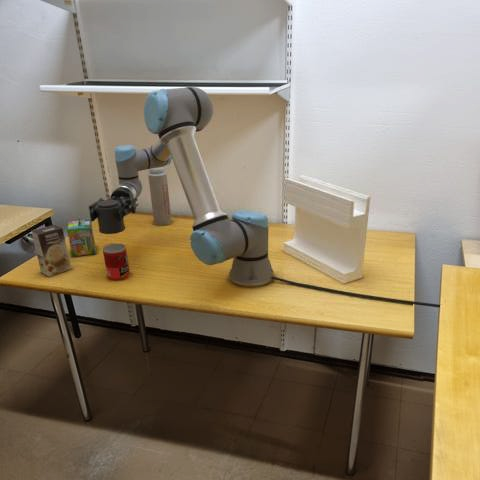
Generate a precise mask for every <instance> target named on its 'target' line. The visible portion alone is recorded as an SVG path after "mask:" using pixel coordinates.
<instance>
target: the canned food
mask: <svg viewBox="0 0 480 480" xmlns="http://www.w3.org/2000/svg"><path fill="white" fill-rule="evenodd" d="M102 255H103V259H104V265H105V270H106V275H107V278H108V279H109V280H112V281H124V280H126V279H128V278H129V277H130V273H131V272H130V266H129V258H128V252H127V247H126V245H125V244H123V243H118V242H117V243H116V242H115V243H110V244H109V243H108V244H106V245H104V246H103V247H102Z"/></svg>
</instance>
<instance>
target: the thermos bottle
mask: <svg viewBox="0 0 480 480" xmlns="http://www.w3.org/2000/svg"><path fill="white" fill-rule="evenodd" d="M147 176H148V186H149V193H150V194H149V195H150V200H151V201H150V202H151V211H152V219H153V225H155V226H161V227H162V226H168V225H171V224H172V214H171V205H170V203H171V202H170V194H169V185H168V184H169V183H168V174H167V172H166V171H165V166H164V167H157V168H152V169H148V173H147Z"/></svg>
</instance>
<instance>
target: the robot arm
mask: <svg viewBox="0 0 480 480" xmlns="http://www.w3.org/2000/svg"><path fill="white" fill-rule="evenodd" d="M213 115H214V104H213V101H212V99H211V97H210V95H209V94H208V93H207V92H206V91H205V90H203V89H201V88H199V87H196V86H186V87H176V88H175V87H174V88H167V89H166V88H160V89H159V90H153V91H151V92H149V93H148V95H147V96H146V97H145V100H144V105H143V117H144V123H145V127H146V128H147V130H148V131H149V132H150V133H151V134H153V135H157V136H158V138H157V139H156V140H155V142H154V143H153V144H152V145H151V146H150V147H145V148H141V149H136V148H135V146H134V145H128V144H127V145H119V146H116V147H115V148H114V160H115V161H114V162H115V165H116V171H117V177H118V186H117V187H116V188H115V189H114V191H112V193H111V195H110V197H109V198H107V199H106V200H117V201H118V202H120V203H121V206H122V208H121V209H120V210H119V211H118V213H117V215H118V221H121V220H122V219H124V218H125V217H126V216H128V215H130V214H136V213H137V207H138V206H139V200H138V198H139V196H140V195H141V193H142V191H143V183H142V181H141V179H140V177H139V172H140V171H141V172H142V171H147V170H149V169H152V168H157V167H164V168H165V166H169V165H170V164H171V163H172V162H173V165H174V168H175V170H176V174H177V176H178V178H179V181H180V184H181V187H182V190H183V192H184V196H185V198H186V201H187V203H188V207H189V209H190V211H191V215H192V217H193V219H194V220H193V224H192V226H191V228H192V230H193V232H192V233H191V234H190V238H189V240H190V242H189V244H190V247H191V250H192V252H193V254H194V255H195V257H196V258H197V260H199V261H200V262H201V263H202V264H205V265H207V266H214V265H217V264H219V265H220V264H222V263H224V262H227V261H229V260H232V259H233V260H232V263H231V268H230V269H229V274H228V278H229V281H230V282H231V283H232V284H234V285H236V286H239V287H244V288H258V287H263V286H266V285H268V284H270V283H271V282H272V281H273V280H275V281H278V282H282V283H286V284H290V285H293V286H299V287H303V288H304V287H305V288H310V289H315V290H320V291H325V292H330V293H335V294H341V295H346V296H353V297H359V298H366V299H373V300H378V301H379V300H380V301H385V302H392V303H393V302H394V303H401V304H407V305H417V306H425V307H431V308H432V307H433V308H439V309H441V308H440V305H441V304H439V303H438V304H437V303H430V302H422V301H415V300H406V299H398V298H391V297H390V298H389V297H383V296H376V295H370V294H364V293H357V292H350V291H344V290H340V289H339V290H338V289H334V288H328V287H323V286H317V285H312V284H306V283H301V282H296V281H291V280H289V279H284V278H281V277H276V276H274V269H273V267H272V263H271V260H270V258H269V228H270V227H269V218H268V216H267V215H266V214H264V213H262V212H260V211H255V210H236V211H233V212H232V216H231V218H232V219H229V216H228V214H227V213H226V212H224V211H222V210H221V208H220V205H219V203H218V200H217V197H216V195H215V192H214V189H213V186H212V183H211V181H210V178H209V175H208V171H207V169H206V166H205V164H204V161H203V159H202V155H201V153H200V152H201V151H200V150H199V147H198V145H197V141H196V138H195V133H199V132H201V131H202V130H204V129H205V128H206V127H207V126H208V124H210V122H211V120H212V118H213ZM104 200H105V199H104V198H102V197H100V198H99V199H97V201H95V202H93V203H91V204H90V205H89V206H88V211H89V218H90V220H91V222H94V221H95V220H96V219H97V214H96V209H95V206H96V205H97V203H98V202H100V201H104Z"/></svg>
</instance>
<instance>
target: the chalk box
mask: <svg viewBox="0 0 480 480" xmlns="http://www.w3.org/2000/svg"><path fill="white" fill-rule="evenodd" d="M66 232H67V233H66V234H67V237H68V242H69V246H70V251H71V252H70V253H71V256H72V257H73V258H74V257H80V256H91V255H96V251H97V249H96V248H97V247H96V241H95V235H94V229H93V224H92V221H91V219H83V220H81V214H79V217H78V220H71V221H67V223H66Z"/></svg>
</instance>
